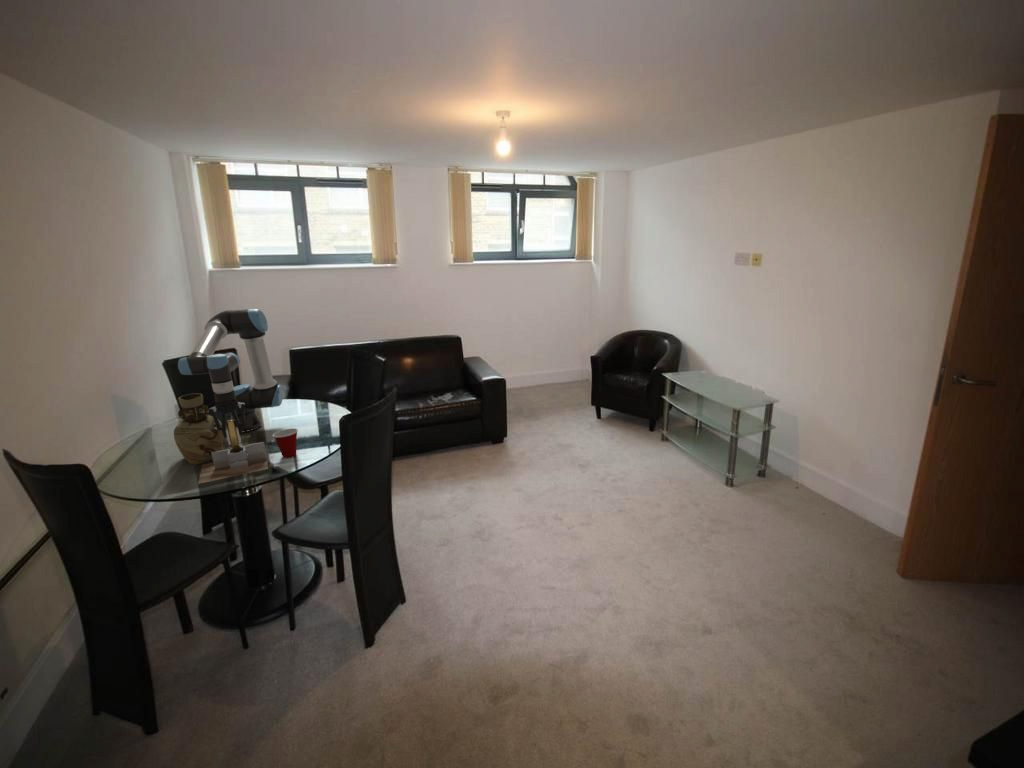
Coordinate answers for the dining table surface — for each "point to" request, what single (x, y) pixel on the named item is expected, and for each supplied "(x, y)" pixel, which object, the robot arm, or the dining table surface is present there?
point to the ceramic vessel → (197, 430)
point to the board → (228, 471)
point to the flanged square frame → (228, 457)
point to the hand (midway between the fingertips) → (235, 442)
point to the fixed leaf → (250, 456)
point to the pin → (233, 435)
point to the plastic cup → (287, 442)
